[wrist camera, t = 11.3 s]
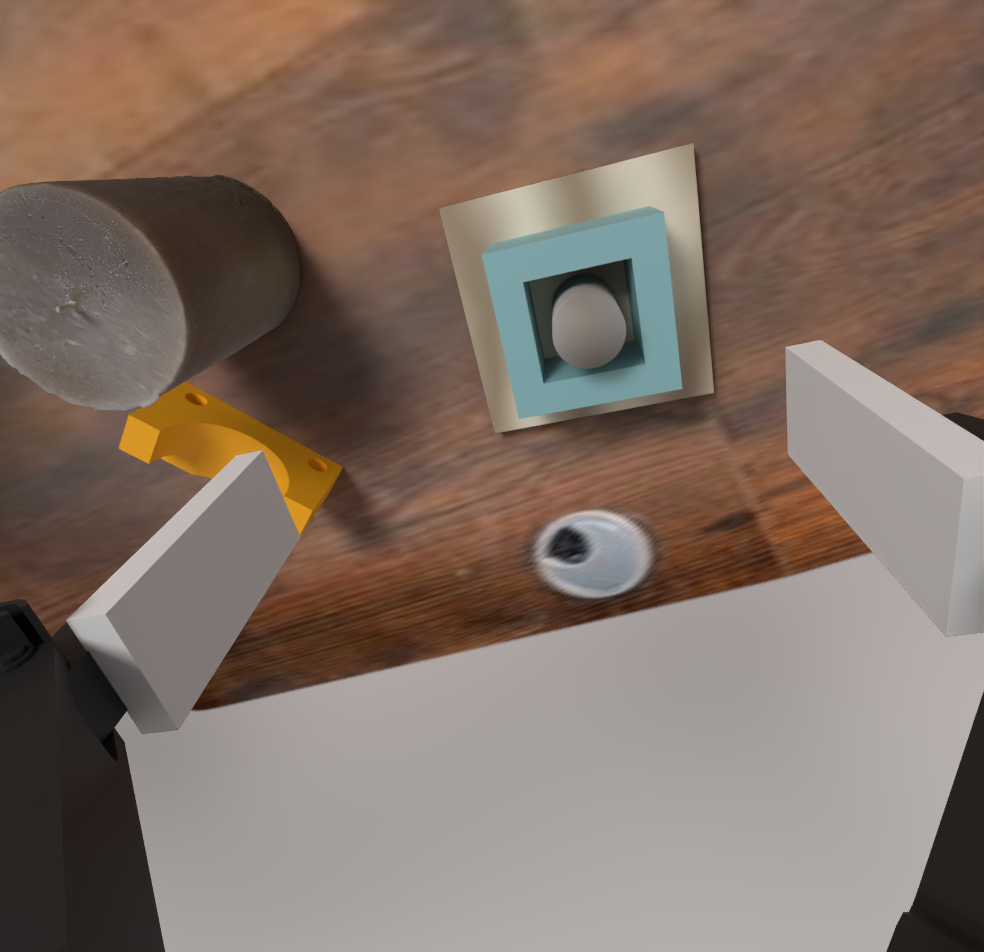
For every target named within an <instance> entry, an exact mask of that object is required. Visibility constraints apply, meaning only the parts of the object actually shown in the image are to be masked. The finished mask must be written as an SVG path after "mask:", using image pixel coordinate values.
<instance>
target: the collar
mask: <svg viewBox="0 0 984 952" xmlns="http://www.w3.org/2000/svg"><path fill="white" fill-rule="evenodd" d="M482 259H483V263H484V268H485V272H486V276H487V281H488V285H489V290H490V294H491V298H492V303H493V307H494V312H495V316H496V320H497V325H498V329H499V334H500V338H501V342H502V347H503V351H504V356H505V360H506V365H507V369H508V373H509V378H510V382H511V387H512V391H513V395H514V400H515V404H516V409H517V413H518V417H519V419H523V418H528V417H533V416H539V415H544V414H550V413H555V412H560V411H566V410H571V409H576V408H582V407H587V406H593V405H598V404H603V403H609V402H614V401H619V400H625V399H630V398H636V397H641V396H646V395H652V394H657V393H662V392H668V391H673V390H679V389H682V380H681V371H680V361H679V351H678V342H677V332H676V322H675V313H674V303H673V294H672V284H671V274H670V265H669V255H668V245H667V236H666V226H665V216H664V212H663V211H661V210H658V209H656V208H653V207H651V206H647V207H643V208H639V209H635V210H630V211H626V212H622V213H618V214H614V215H610V216H605V217H601V218H597V219H593V220H589V221H585V222H580V223H576V224H572V225H568V226H564V227H560V228H555V229H551V230H547V231H543V232H539V233H534V234H530V235H526V236H522V237H518V238H514V239H509V240H505V241H501V242H497V243H493V244H490V245H489V247H488V248H487V249H486V250H485V251H484V253H483V254H482ZM620 260H624V267H625V275H626V282H627V290H628V297H629V305H630V312H631V320H632V327H633V335H634V341H630V342H625V343H624V344H623V346H622V349H621V350H620V352H619V353H618V354H617V356H616V357H615V358H614V359H612V360H611V361H610V362H608V363H607V364H605V365H603V366H600V367H597V368H591V369H584V368H578V367H575V366H572V365H571V364H569V363H567V362H566V361H564V360H563V359H562V358H561V357H560V356H556V357H551V358H546V359H544V354H543V348H542V343H541V338H540V333H539V328H538V323H537V318H536V313H535V308H534V303H533V298H532V293H531V288H530V283H529V281H531V280H536V279H540V278H545V277H549V276H553V275H558V274H562V273H567V272H571V271H576V270H580V269H584V268H589V267H593V266H598V265H602V264H607V263H611V262H615V261H620Z"/></svg>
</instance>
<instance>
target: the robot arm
mask: <svg viewBox="0 0 984 952" xmlns="http://www.w3.org/2000/svg"><path fill="white" fill-rule="evenodd" d="M785 350H786V392H787V434H788V455H789V456H790V457H791V458H792V459H793V461H794V462H795V463H796V464H797V465H798V466H799V468H800V469H801V470H802V471H803V472H804V473H805V475H806V476H807V477H808V478H809V479H810V480H811V481H812V483H813V484H814V485H815V486H816V487H817V488H818V490H819V491H820V492H821V493H822V494H823V495H824V497H825V498H826V499H827V500H828V501H829V502H830V503H831V505H832V506H833V507H834V508H835V509H836V510H837V512H838V513H839V514H840V515H841V516H842V517H843V519H844V520H845V521H846V522H847V523H848V524H849V525H850V527H851V528H852V529H853V530H854V531H855V532H856V534H857V535H858V536H859V537H860V538H861V539H862V540H863V542H864V543H865V544H866V545H867V546H868V547H869V549H870V550H871V551H872V552H873V553H874V554H875V556H876V557H877V558H878V559H879V560H880V561H881V562H882V564H884V566H885V567H886V568H887V569H888V571H889V572H890V573H891V574H892V575H893V576H894V577H895V579H896V580H897V581H898V582H899V583H900V584H901V585H902V587H903V588H904V589H905V590H906V591H907V593H908V594H909V595H910V596H911V597H912V598H913V600H914V601H915V602H916V603H917V604H918V605H919V606H920V608H921V609H922V610H923V611H924V612H925V613H926V614H927V616H928V617H929V618H930V619H931V620H932V622H933V623H934V624H935V625H936V626H937V627H938V628H939V629H940V631H941V632H942V633H943V634H944V635H945V637H949V636H958V635H966V634H974V633H983V632H984V420H983V419H980V418H976V417H972V416H969V415H965V414H961V413H957V412H956V413H951V414H945V415H941V414H939V413H937V412H936V411H934V410H933V409H931V408H929V407H928V406H926V405H925V404H923V403H921V402H920V401H918V400H916V399H915V398H913V397H912V396H910V395H908V394H907V393H905V392H904V391H902V390H900V389H899V388H897V387H896V386H894V385H892V384H891V383H889V382H887V381H886V380H884V379H883V378H881V377H879V376H878V375H876V374H875V373H873V372H871V371H870V370H868V369H867V368H865V367H863V366H862V365H860V364H858V363H857V362H855V361H854V360H852V359H850V358H849V357H847V356H846V355H844V354H842V353H841V352H839V351H838V350H836V349H834V348H833V347H831V346H829V345H828V344H826V343H825V342H823V341H821V340H819V341H814V342H809V343H804V344H798V345H793V346H788V347H785ZM299 539H300V535H299V533H298V531H297V528H296V526H295V524H294V521H293V519H292V517H291V514H290V512H289V510H288V507H287V505H286V503H285V500H284V498H283V496H282V493H281V491H280V489H279V486H278V484H277V482H276V479H275V477H274V475H273V473H272V470H271V468H270V466H269V463H268V461H267V459H266V456H265V454H264V452H263V450H261V451H256V452H251V453H246V454H241V455H236V456H235V457H234V458H233V459H232V460H231V461H230V462H229V463H228V464H227V465H226V466H225V467H224V468H223V469H222V470H221V471H220V472H219V473H218V474H217V475H216V476H215V477H214V478H213V479H212V480H211V481H210V482H209V483H207V484H206V485H205V486H204V487H203V488H202V489H201V490H200V491H199V492H198V493H197V494H196V495H195V496H194V497H193V498H192V499H191V500H190V501H189V502H188V503H187V504H186V505H185V506H184V507H183V508H182V509H181V510H180V511H179V512H178V513H176V514H175V515H174V516H173V517H172V518H171V519H170V520H169V521H168V522H167V523H166V524H165V525H164V526H163V527H162V528H161V529H160V530H159V531H158V532H157V533H156V534H155V535H154V536H153V537H152V538H151V539H150V540H149V541H148V542H146V543H145V544H144V545H143V546H142V547H141V548H140V549H139V550H138V551H137V552H136V553H135V554H134V555H133V556H132V557H131V558H130V559H129V560H128V561H127V562H126V563H125V564H124V565H123V566H122V567H121V568H120V569H119V570H118V571H117V572H115V573H114V574H113V575H112V576H111V577H110V578H109V579H108V580H107V581H106V582H105V583H104V584H103V585H102V586H101V587H100V588H99V589H98V590H97V591H96V592H95V593H94V594H93V595H92V596H91V597H90V598H89V599H88V600H87V601H85V602H84V603H83V604H82V605H81V606H80V607H79V608H78V609H77V610H76V611H75V612H74V613H73V614H72V615H71V616H70V617H69V618H68V619H67V620H66V622H67V623H66V624H65V625H64V626H62V627H61V628H60V629H59V630H58V631H57V632H56V633H55V634H54V635H53V636H52V637H51V636H50V635H49V633H48V632H47V630H46V629H45V627H44V626H43V624H42V623H41V622H40V620H39V619H38V617H37V616H36V614H35V613H34V612H33V610H32V609H31V607H30V606H29V604H28V603H27V602H26V600H18V599H16V600H11V601H7V602H3V603H0V952H165V949H164V944H163V939H162V934H161V928H160V923H159V918H158V913H157V908H156V903H155V898H154V892H153V887H152V882H151V877H150V872H149V867H148V861H147V856H146V851H145V846H144V841H143V835H142V831H141V825H140V820H139V815H138V810H137V805H136V800H135V794H134V789H133V784H132V779H131V774H130V768H129V763H128V758H127V753H126V748H125V743H124V741H123V739H122V738H121V737H120V735H119V734H118V732H117V731H116V730H115V728H114V727H115V726H116V725H117V723H118V722H119V721H120V719H121V718H122V717H123V715H124V714H125V713H126V711H127V712H128V714H129V715H130V717H131V718H132V719H133V721H134V723H135V724H136V726H137V727H138V729H139V730H140V732H141V733H142V734H146V733H155V732H164V731H172V730H178V729H179V728H180V726H181V725H182V723H183V722H184V720H185V718H186V717H187V715H188V714H189V712H190V711H191V709H192V708H193V706H194V704H195V703H196V701H197V700H198V698H199V696H200V695H201V693H202V692H203V690H204V689H205V687H206V685H207V684H208V682H209V681H210V679H211V678H212V676H213V674H214V673H215V671H216V670H217V668H218V667H219V665H220V663H221V662H222V660H223V659H224V657H225V656H226V654H227V652H228V651H229V649H230V648H231V646H232V645H233V643H234V641H235V640H236V638H237V637H238V635H239V634H240V632H241V630H242V629H243V627H244V626H245V624H246V623H247V621H248V619H249V618H250V616H251V615H252V613H253V611H254V610H255V608H256V607H257V605H258V604H259V602H260V600H261V599H262V597H263V596H264V594H265V593H266V591H267V589H268V588H269V586H270V585H271V583H272V582H273V580H274V578H275V577H276V575H277V574H278V572H279V571H280V569H281V567H282V566H283V564H284V563H285V561H286V560H287V558H288V556H289V555H290V553H291V552H292V550H293V549H294V547H295V545H296V544H297V542H298V541H299ZM887 952H984V692H983V695H982V698H981V701H980V704H979V707H978V710H977V713H976V716H975V719H974V722H973V726H972V729H971V731H970V734H969V738H968V740H967V743H966V747H965V749H964V752H963V756H962V759H961V762H960V765H959V768H958V771H957V774H956V777H955V780H954V783H953V786H952V789H951V792H950V795H949V798H948V801H947V804H946V807H945V810H944V813H943V816H942V819H941V822H940V825H939V828H938V831H937V834H936V837H935V840H934V843H933V847H932V849H931V852H930V855H929V858H928V861H927V864H926V867H925V870H924V873H923V876H922V880H921V882H920V885H919V888H918V891H917V894H916V897H915V900H914V902H913V905H912V907H911V909H910V911H909V912H903V914H902V916H901V918H900V920H899V922H898V924H897V926H896V928H895V931H894V933H893V936H892V939H891V941H890V944H889V947H888V949H887Z"/></svg>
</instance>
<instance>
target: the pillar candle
mask: <svg viewBox="0 0 984 952" xmlns="http://www.w3.org/2000/svg"><path fill="white" fill-rule="evenodd" d="M300 279H301V271H300V259H299V252H298V249H297V245H296V242H295V239H294V236H293V234H292V231H291V230H290V228H289V227H288V225H287V222H286V221H285V220H284V218H283V217H282V215H281V214H280V213H279V212H278V210H277V209H276V208H275V207H274V206H273V205H271V203H270V202H269V201H268V200H267V199H266V198H265V197H264V196H263V195H261V194H260V193H258V192H257V191H256V190H254V189H253V188H251V187H249V186H247V185H245V184H244V183H241V182H239V181H238V180H235V179H232V178H229V177H225V176H222V175H215V176H214V177H192V176H184V177H180V176H177V177H172V178H168V177H164V178H162V177H157V178H141V179H140V178H136V179H113V180H84V181H55V182H39V183H29V184H23V185H17V186H14V187H11V188H8V189H6V190H4V191H2V192H0V354H1V356H2V357H3V358H4V359H5V360H6V361H7V362H8V364H9V365H10V366H12V367H13V368H16V369H17V370H18V371H19V373H20V374H21V375H25V376H27V377H28V378H29V379H31V380H32V381H34V382H35V383H37V385H38V386H40V387H41V388H42V389H43V390H44V391H45V392H47V393H48V394H49V395H51V394H55V395H56V396H58V397H60V398H61V399H62V400H64V401H65V402H67V403H69V404H76V405H80V406H83V407H88V408H94V409H95V410H97V411H126V410H130V409H134V408H137V407H142V408H144V409H145V407H147V406H152V405H153V404H154V403H156V402H157V401H158V399H159V398H160V397H159V396H160V395H162V394H164V393H166V392H168V391H170V390H172V389H173V388H175V387H177V386H178V385H180V384H181V383H183V382H184V381H186V380H188V379H190V378H191V377H193V376H195V375H196V374H198V373H200V372H202V371H203V370H205V369H207V368H209V367H210V366H213V365H214V364H215V363H218V362H219V361H221V360H224V359H226V358H227V357H228V356H231V355H233V354H234V353H236V352H238V351H239V350H240V349H242V348H244V347H245V346H247V345H249V344H250V343H252V342H254V341H255V340H257V339H258V338H260V337H261V336H263V335H265V334H266V333H268V332H269V331H270V330H273V329H274V328H276V327H277V326H279V325H280V324H281V323H282V322H283V321H284V319H285V318H286V317H287V316H288V314H289V313H290V311H291V310H292V308H293V306H294V304H295V301H296V299H297V295H298V292H299V289H300Z"/></svg>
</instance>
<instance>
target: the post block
mask: <svg viewBox="0 0 984 952" xmlns="http://www.w3.org/2000/svg"><path fill="white" fill-rule="evenodd" d="M647 206H651V207H653V208H656V209H658V210H661V211H663V212H664V216H665V226H666V236H667V245H668V255H669V265H670V274H671V284H672V294H673V303H674V313H675V322H676V332H677V342H678V351H679V361H680V371H681V380H682V389H679V390H673V391H668V392H662V393H657V394H652V395H646V396H641V397H636V398H630V399H625V400H619V401H614V402H609V403H603V404H598V405H593V406H587V407H582V408H576V409H571V410H566V411H560V412H555V413H550V414H544V415H539V416H533V417H528V418H523V419H519V417H518V413H517V409H516V404H515V400H514V395H513V391H512V387H511V382H510V378H509V373H508V369H507V365H506V360H505V356H504V351H503V347H502V342H501V338H500V334H499V329H498V325H497V320H496V316H495V312H494V307H493V303H492V298H491V294H490V290H489V285H488V281H487V276H486V272H485V268H484V263H483V259H482V254H483V253H484V251H485V250H486V249H487V248H488V247H489V245H490V244H493V243H497V242H501V241H505V240H509V239H514V238H518V237H522V236H526V235H530V234H534V233H539V232H543V231H547V230H551V229H555V228H560V227H564V226H568V225H572V224H576V223H580V222H585V221H589V220H593V219H597V218H601V217H605V216H610V215H614V214H618V213H622V212H626V211H630V210H635V209H639V208H643V207H647ZM439 211H440V215H441V219H442V223H443V227H444V231H445V235H446V239H447V243H448V247H449V251H450V255H451V259H452V263H453V267H454V271H455V275H456V279H457V283H458V287H459V291H460V295H461V299H462V303H463V307H464V311H465V315H466V319H467V323H468V327H469V331H470V335H471V339H472V343H473V347H474V351H475V355H476V359H477V363H478V367H479V371H480V375H481V379H482V383H483V387H484V391H485V395H486V400H487V404H488V408H489V412H490V416H491V420H492V424H493V428H494V432H495V433H499V432H505V431H510V430H516V429H521V428H527V427H532V426H537V425H543V424H548V423H554V422H559V421H564V420H570V419H575V418H581V417H586V416H592V415H597V414H602V413H608V412H613V411H619V410H624V409H629V408H635V407H640V406H646V405H651V404H656V403H662V402H667V401H673V400H678V399H684V398H689V397H694V396H700V395H705V394H711V393H714V386H713V374H712V362H711V350H710V338H709V326H708V314H707V302H706V290H705V278H704V266H703V254H702V242H701V230H700V218H699V206H698V194H697V182H696V170H695V158H694V146H693V144H688V145H684V146H680V147H676V148H672V149H668V150H664V151H660V152H657V153H653V154H649V155H645V156H641V157H637V158H633V159H629V160H625V161H621V162H618V163H614V164H610V165H606V166H602V167H598V168H594V169H590V170H586V171H582V172H579V173H575V174H571V175H567V176H563V177H559V178H555V179H551V180H547V181H543V182H539V183H536V184H532V185H528V186H524V187H520V188H516V189H512V190H508V191H504V192H500V193H497V194H493V195H489V196H485V197H481V198H477V199H473V200H469V201H465V202H461V203H458V204H454V205H450V206H446V207H442V208H439ZM529 283H530V288H531V293H532V298H533V303H534V308H535V313H536V318H537V323H538V328H539V333H540V338H541V343H542V348H543V354H544V359H546V358H551V357H556V356H560V357H561V358H562V359H563V360H564V361H566V362H567V363H569V364H571V365H572V366H575V367H578V368H584V369H591V368H597V367H600V366H603V365H605V364H607V363H608V362H610V361H611V360H612V359H614V358H615V357H616V356H617V354H618V353H619V352H620V350H621V349H622V346H623V344H624V343H625V342H630V341H634V335H633V327H632V320H631V312H630V305H629V297H628V290H627V282H626V275H625V267H624V260H620V261H615V262H611V263H607V264H602V265H598V266H593V267H589V268H584V269H580V270H576V271H571V272H567V273H562V274H558V275H553V276H549V277H545V278H540V279H536V280H531V281H529Z"/></svg>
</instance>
